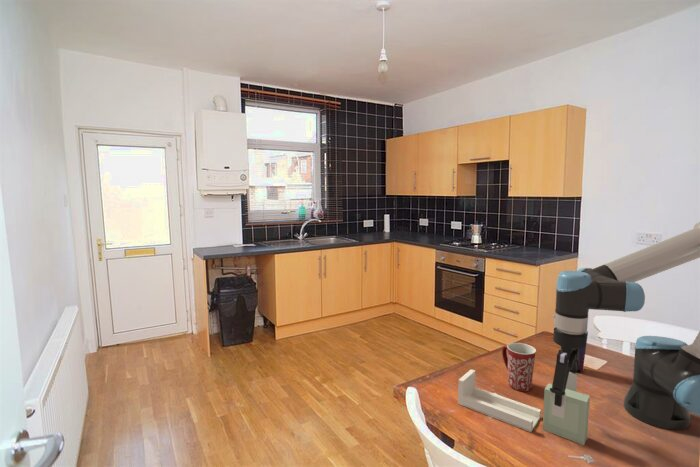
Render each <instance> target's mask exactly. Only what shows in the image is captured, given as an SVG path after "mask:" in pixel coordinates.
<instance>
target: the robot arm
mask: <svg viewBox="0 0 700 467" xmlns="http://www.w3.org/2000/svg"><path fill="white" fill-rule="evenodd" d="M697 259H700V221H699V222H697V223H695V224H694V225H693V228H692V229H688V230H687V231H686V232H685V231H684V232H681V233H680V234H676V235H675V236H672V237H670V238H668V239H665V240H662V241H660V242H657V243H655V244H652V245H649V246H646V247H644V248H642V249H640V250H637V251H635V252H632V253H629V254H627V255H625V256H622V257H620V258H617V259H614V260H613V261H610V262H608V263H604V264H601V265H599V266H596V267H595V268H594V267H593V268H591V267H582V268H579V269H577V270H563V271H560V273H558V275H557V280H556V286H555V289H556V290H555V307H554V308H555V310H554V313H553V314H552V316H551V317H552V318H554V322H553V323H554V325H553V326H554V327H553V336H552V340H553V342H554V344H556V345H558V346H560V349H558V352H557V354H556V362H555V369H554V374H553V380H552V383H551V384H552V388H550V391H551V392H552V393H553V404H552V415H555V416H557V417H560V418H563V419H564V413H565V399H566V393H565V389H569V390H572V391H576V392H577V388H578V387H577V386H578V377H579V375H578V374H581V373H582V372H581V370H580V369H579V368H580V364H579V349H581V348H584V347H585V346H586V347H587V344H586V333H585V332H586V331H588V327H589V326H588V323H589V310H595V311H596V310H597V311H610V312H611V311H612V312H623V313H625V312H638V311H640V310H642V309H643V307H644V305H645V300H646V299H645V298H646V295H645V292H644V288H643V287H642V285H640V284H639V283H638V281H641V280H644V279H646V278H649V277H652V276H654V275H657V274H659V273H662V272H665V271H668V270H670V269H673V268H676V267H678V266H681V265H684V264H686V263H689V262H691V261H695V260H697ZM633 362H634V364H633V376H632V377H633V378H632V383H631V385H630V387H629V389H628V391H627V392H626V393H625V394H626V395H625V396H624V398H623V408H624V409H625V411H626V412H628V414H629V415H631V416H632V417H634V418H635V419H638V420H639V421H641V422H644V423H645V424H648V425H652V426H653V427H657V428H661V429H666V430H674V431H676V430H677V431H679V430H685V429H687V427H688V426H689V425H690V426H691V414H692V413H693V414H695V415H696V416H699V417H700V331H699V332H698V333H697V335H696V337H695V339H694V340H693V342H692V343H691V344H688V343H687V342H685V341H683V340H680V339H677V338H672V337H668V336H667V337H666V336H657V335H642V336H639V337H638V338H637V339H636V341H635V346H634V361H633ZM690 412H691V414H690ZM690 426H689V427H690ZM689 427H688V428H689Z"/></svg>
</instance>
